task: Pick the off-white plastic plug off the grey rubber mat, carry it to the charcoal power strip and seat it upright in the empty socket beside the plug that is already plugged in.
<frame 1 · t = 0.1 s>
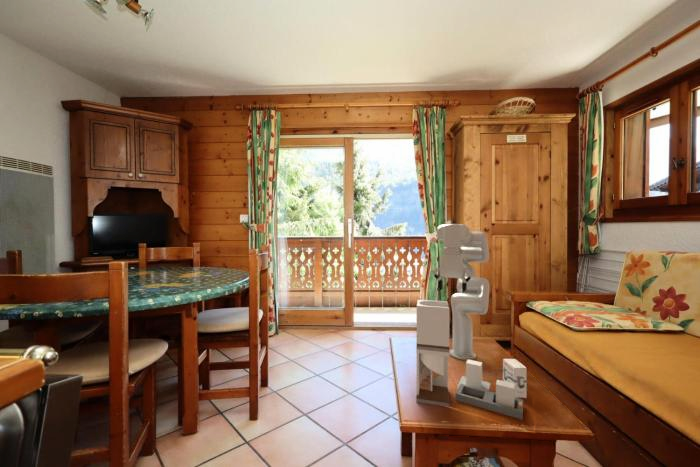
hand: (452, 290, 126), 37 cm above the table, tool pointing down, fingers open, 9 cm apart
plug: (474, 385, 116), point 1 cm above the table, touching mat
ink box: (514, 393, 111), on the table
mat: (474, 386, 116), on the table
power strip: (488, 405, 103), on the table
display case: (432, 396, 108), on the table
plugged-in plug: (505, 409, 100), resting in power strip
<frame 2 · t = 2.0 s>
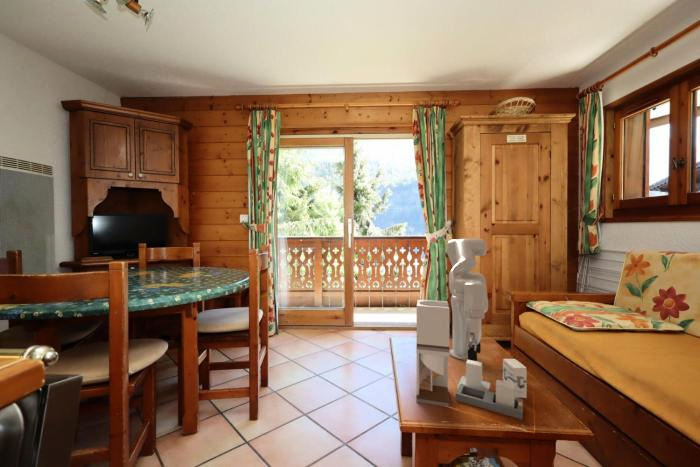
hand: (474, 356, 115), 12 cm above the table, tool pointing down, fingers open, 9 cm apart
nothing on the table moved.
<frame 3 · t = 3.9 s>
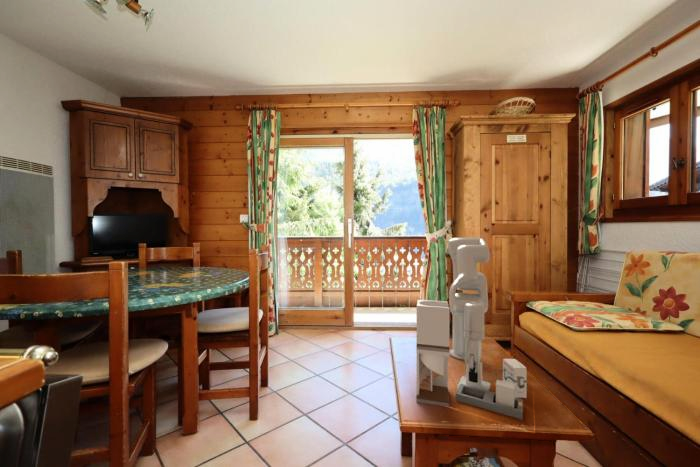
hand: (474, 378, 116), 3 cm above the table, tool pointing down, fingers closed on plug, 4 cm apart
plug: (474, 385, 116), point 1 cm above the table, touching gripper, mat
everything else where it was.
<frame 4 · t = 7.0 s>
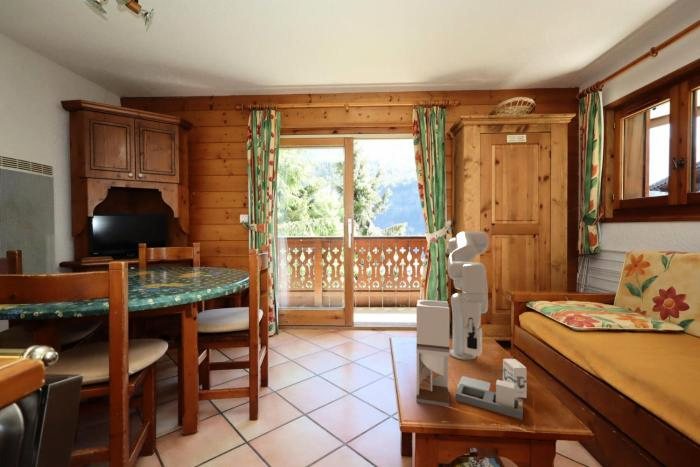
hand: (473, 345, 106), 20 cm above the table, tool pointing down, fingers closed on plug, 4 cm apart
plug: (473, 352, 106), point 17 cm above the table, touching gripper
everything else where it was.
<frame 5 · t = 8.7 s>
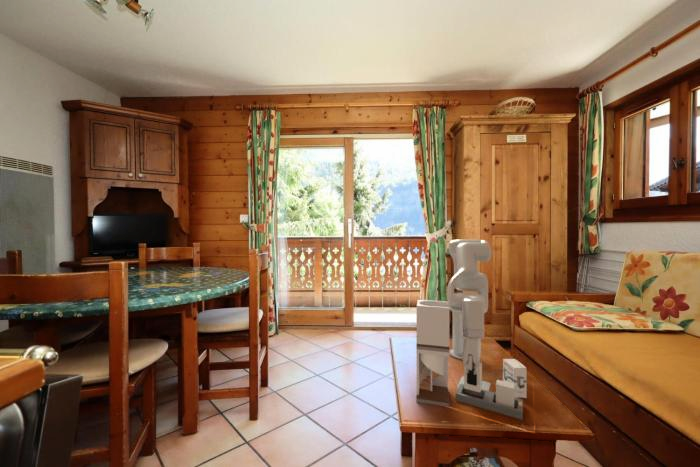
hand: (472, 381, 106), 7 cm above the table, tool pointing down, fingers closed on plug, 4 cm apart
plug: (473, 387, 106), point 5 cm above the table, touching gripper
everything else where it was.
when the fingers open (4 cm above the table, at t = 10.0 s): plug drops 2 cm, resting in power strip.
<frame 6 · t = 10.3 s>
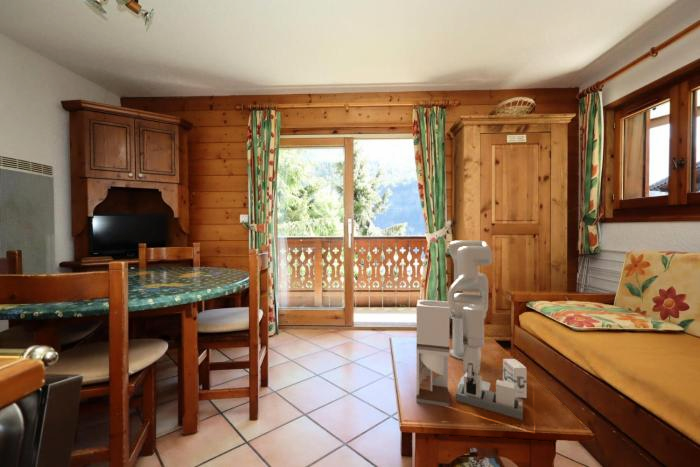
hand: (472, 388, 106), 4 cm above the table, tool pointing down, fingers open, 7 cm apart
plug: (472, 400, 106), resting in power strip
everything else where it was.
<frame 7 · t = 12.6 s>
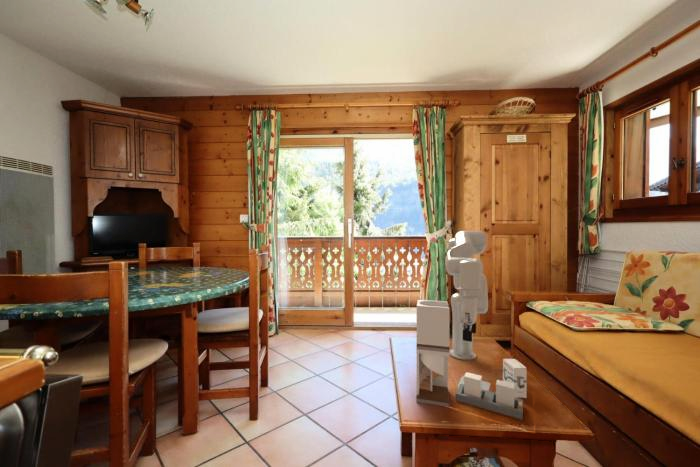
hand: (469, 336, 110), 22 cm above the table, tool pointing down, fingers open, 9 cm apart
nothing on the table moved.
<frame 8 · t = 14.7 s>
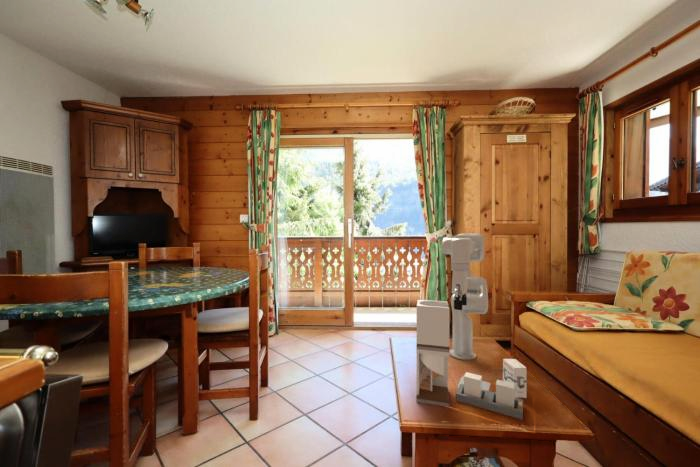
hand: (460, 307, 123), 30 cm above the table, tool pointing down, fingers open, 9 cm apart
nothing on the table moved.
at the end: plug 0.0 cm from the target spot on the power strip, point 0.0 cm above the power strip's base; plug tilted 0°; the gripper is holding nothing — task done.
